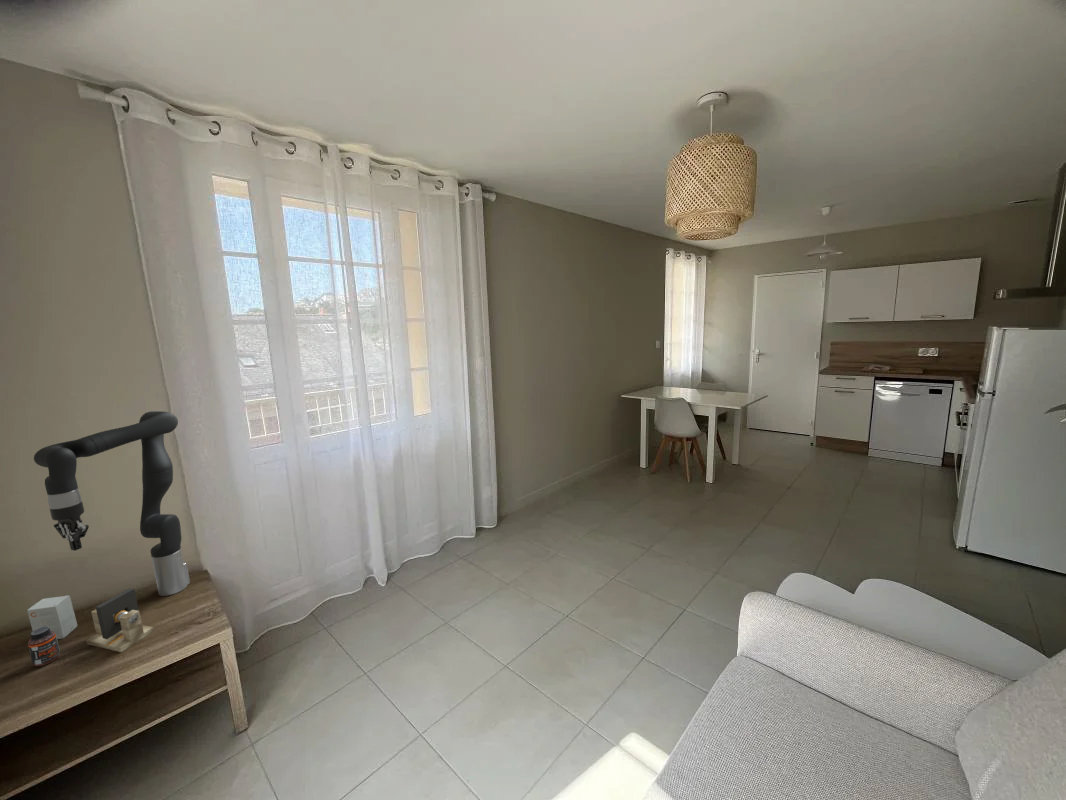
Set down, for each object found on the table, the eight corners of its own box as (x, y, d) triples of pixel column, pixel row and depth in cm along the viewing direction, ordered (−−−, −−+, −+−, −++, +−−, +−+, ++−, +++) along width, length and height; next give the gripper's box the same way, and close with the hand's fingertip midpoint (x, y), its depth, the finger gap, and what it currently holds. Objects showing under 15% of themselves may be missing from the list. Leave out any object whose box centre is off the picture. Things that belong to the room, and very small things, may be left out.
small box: (78, 626, 151) (70, 594, 149) (63, 638, 145) (55, 606, 143) (50, 629, 149) (42, 598, 147) (34, 643, 143) (25, 610, 141)
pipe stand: (120, 623, 152) (114, 597, 150) (153, 630, 149) (148, 604, 147) (86, 644, 143) (80, 616, 141) (121, 652, 139) (115, 624, 137)
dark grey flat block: (136, 617, 150) (130, 588, 147) (140, 618, 149) (134, 588, 147) (102, 638, 140) (95, 606, 138) (107, 639, 140) (99, 607, 137)
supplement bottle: (41, 669, 133) (33, 638, 130) (28, 666, 134) (19, 635, 132) (65, 654, 138) (58, 625, 136) (52, 651, 139) (45, 622, 137)
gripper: (93, 500, 142) (103, 545, 146) (66, 496, 145) (76, 541, 149) (65, 510, 135) (76, 557, 139) (36, 506, 138) (48, 552, 141)
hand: (76, 549), depth 144 cm, fingers closed
